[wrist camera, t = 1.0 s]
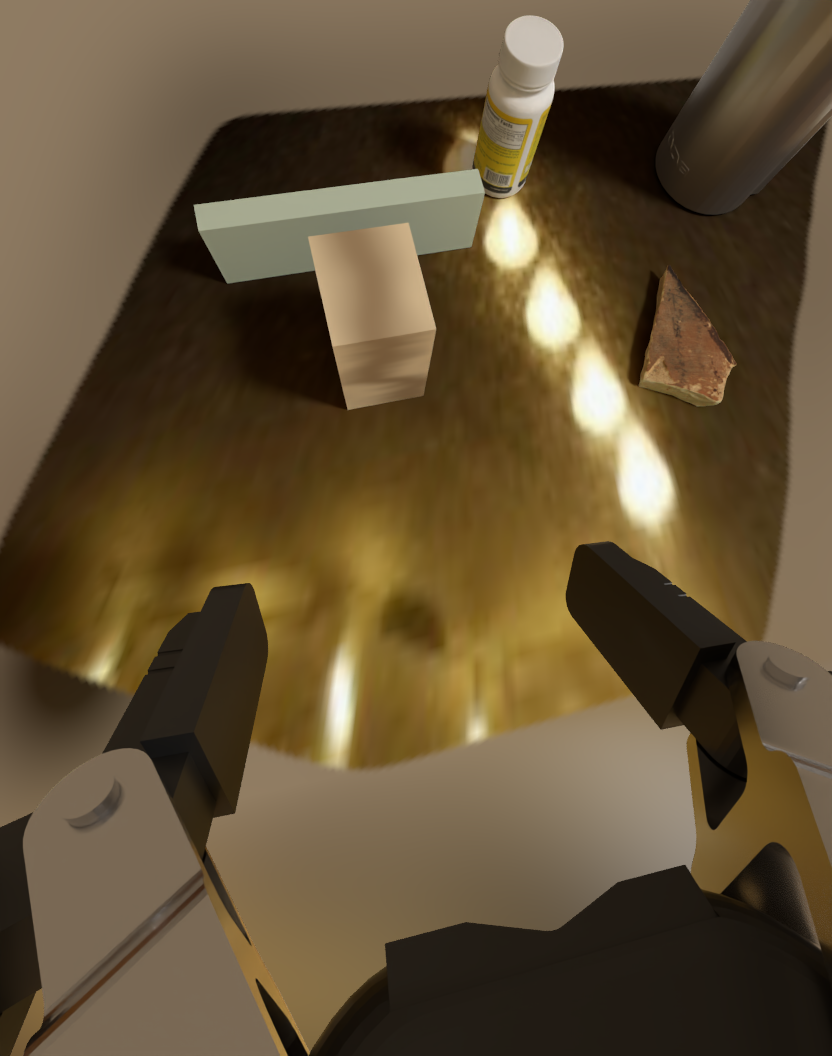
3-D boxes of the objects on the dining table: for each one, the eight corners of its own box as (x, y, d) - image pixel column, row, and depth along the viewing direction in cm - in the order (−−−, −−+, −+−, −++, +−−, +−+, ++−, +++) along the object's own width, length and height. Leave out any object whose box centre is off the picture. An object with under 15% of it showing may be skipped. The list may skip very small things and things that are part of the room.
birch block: (403, 315, 30) (408, 222, 22) (423, 395, 30) (436, 329, 22) (329, 327, 30) (307, 236, 22) (347, 410, 29) (332, 346, 21)
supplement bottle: (508, 146, 33) (549, 1, 25) (534, 189, 33) (584, 57, 24) (461, 163, 33) (486, 20, 24) (486, 207, 32) (520, 78, 24)
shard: (655, 278, 33) (671, 260, 31) (736, 306, 33) (755, 291, 32) (629, 387, 31) (644, 375, 30) (714, 416, 32) (733, 407, 30)
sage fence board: (465, 226, 32) (478, 168, 27) (471, 247, 32) (485, 192, 27) (222, 260, 30) (193, 205, 25) (227, 283, 30) (198, 231, 25)
